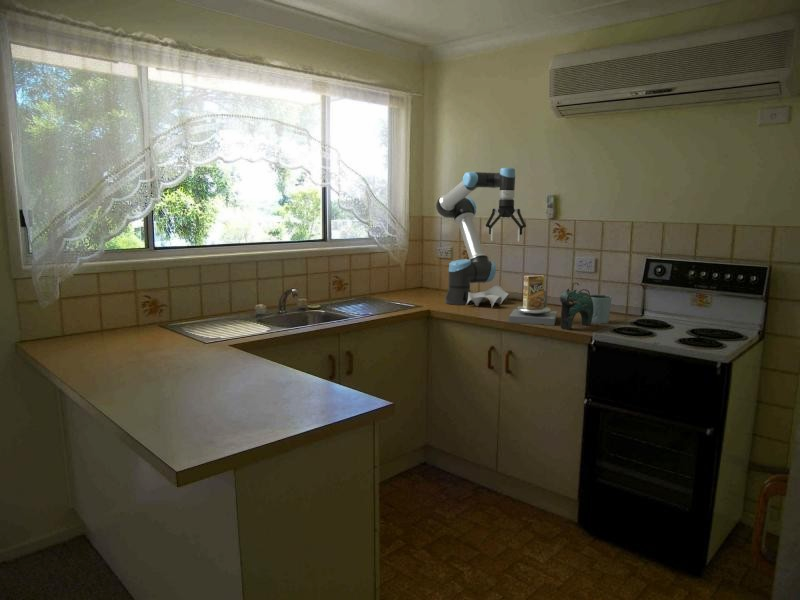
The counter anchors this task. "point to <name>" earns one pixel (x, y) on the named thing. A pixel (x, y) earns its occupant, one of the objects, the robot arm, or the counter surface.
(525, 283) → the candy box
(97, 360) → the counter surface
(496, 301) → the white irregular piece
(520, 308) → the scale pan
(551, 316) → the kitchen scale
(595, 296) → the pale blue cup
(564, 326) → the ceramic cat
